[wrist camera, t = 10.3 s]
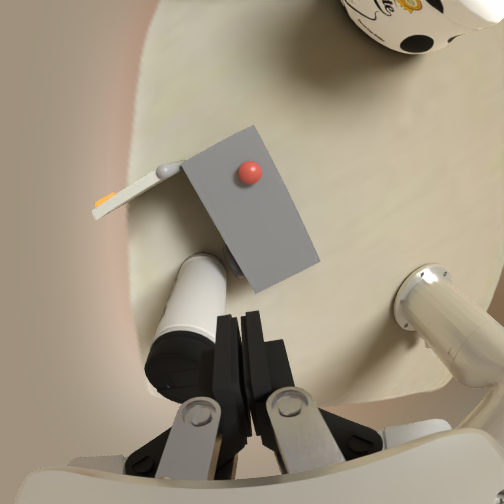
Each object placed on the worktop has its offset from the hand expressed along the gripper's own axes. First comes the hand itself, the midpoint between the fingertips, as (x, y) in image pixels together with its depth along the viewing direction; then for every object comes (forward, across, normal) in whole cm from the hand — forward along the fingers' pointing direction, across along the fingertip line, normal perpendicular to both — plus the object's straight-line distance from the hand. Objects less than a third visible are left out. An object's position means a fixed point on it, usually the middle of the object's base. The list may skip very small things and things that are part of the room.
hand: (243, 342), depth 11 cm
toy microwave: (+25, -2, -1) cm, 25 cm away
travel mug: (+25, +5, +8) cm, 27 cm away
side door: (+25, +9, -6) cm, 27 cm away
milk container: (+25, -25, -28) cm, 45 cm away
